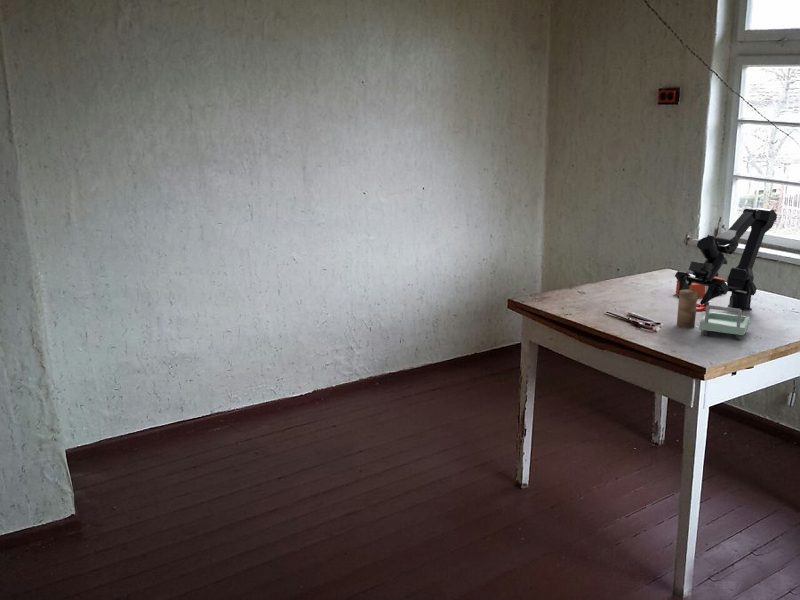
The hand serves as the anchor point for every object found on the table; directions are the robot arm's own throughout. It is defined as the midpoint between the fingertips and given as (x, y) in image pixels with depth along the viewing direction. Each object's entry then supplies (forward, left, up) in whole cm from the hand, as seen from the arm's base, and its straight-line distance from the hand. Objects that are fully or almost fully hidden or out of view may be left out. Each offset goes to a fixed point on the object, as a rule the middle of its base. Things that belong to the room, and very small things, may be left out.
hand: (689, 301), depth 268 cm
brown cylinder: (+1, 0, -9) cm, 9 cm away
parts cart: (-8, +10, -9) cm, 16 cm away
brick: (-23, -39, -9) cm, 46 cm away
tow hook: (-12, -20, -9) cm, 25 cm away
